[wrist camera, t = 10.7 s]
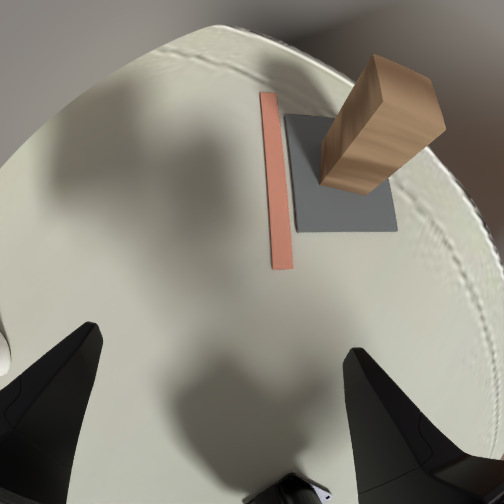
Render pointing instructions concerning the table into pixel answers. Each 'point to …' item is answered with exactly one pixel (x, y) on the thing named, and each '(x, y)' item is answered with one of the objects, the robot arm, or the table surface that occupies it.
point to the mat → (330, 199)
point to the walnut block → (379, 127)
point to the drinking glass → (4, 356)
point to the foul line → (276, 184)
